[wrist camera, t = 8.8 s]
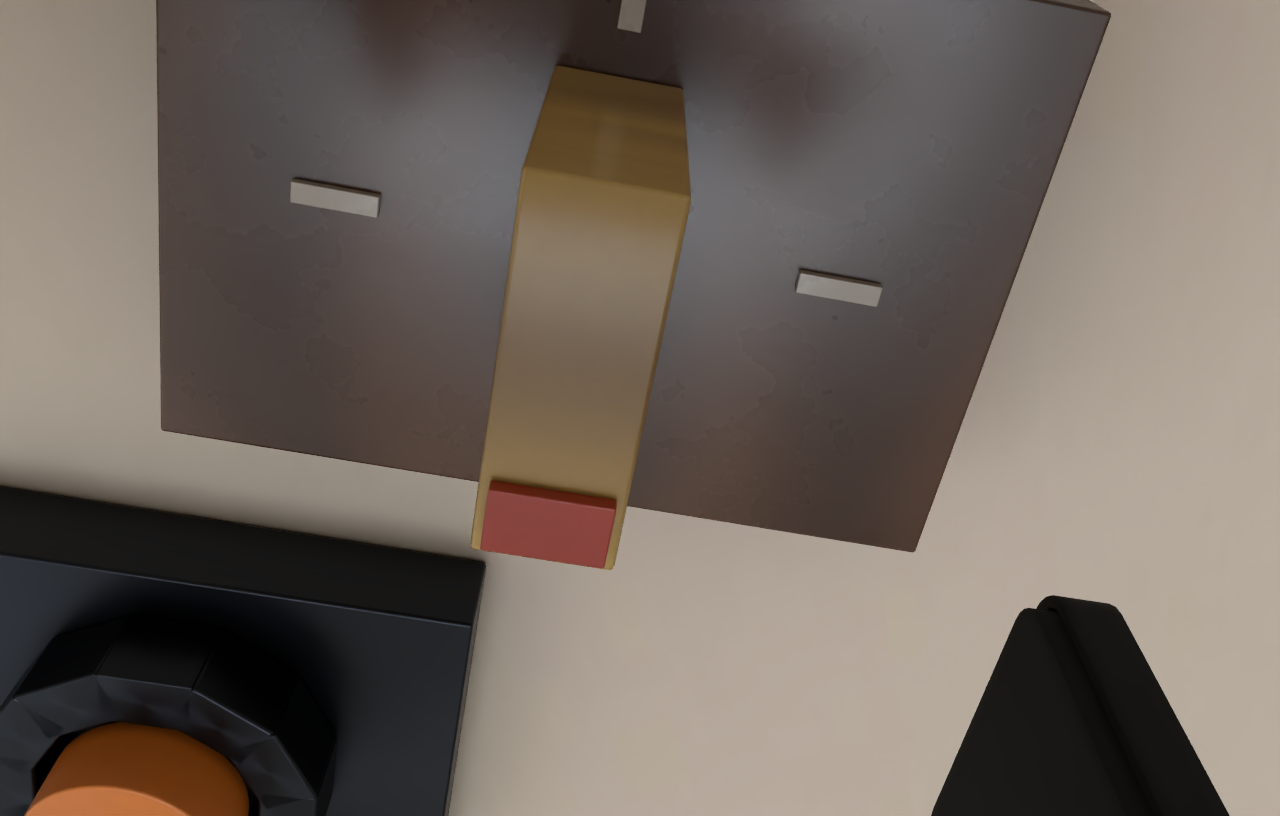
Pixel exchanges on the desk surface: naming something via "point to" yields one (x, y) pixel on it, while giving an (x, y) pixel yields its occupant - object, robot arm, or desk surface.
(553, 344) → the lock knob
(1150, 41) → the desk surface
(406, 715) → the black button base
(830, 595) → the desk surface
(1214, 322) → the desk surface
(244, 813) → the bell button
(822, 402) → the plate
